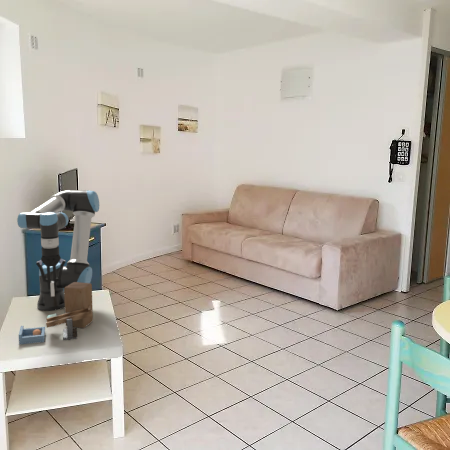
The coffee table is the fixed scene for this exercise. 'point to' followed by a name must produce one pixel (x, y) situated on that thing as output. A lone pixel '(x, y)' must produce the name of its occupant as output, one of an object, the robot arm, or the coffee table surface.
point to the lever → (68, 317)
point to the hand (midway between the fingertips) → (52, 295)
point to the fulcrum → (69, 331)
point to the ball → (36, 332)
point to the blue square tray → (31, 335)
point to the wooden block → (78, 301)
